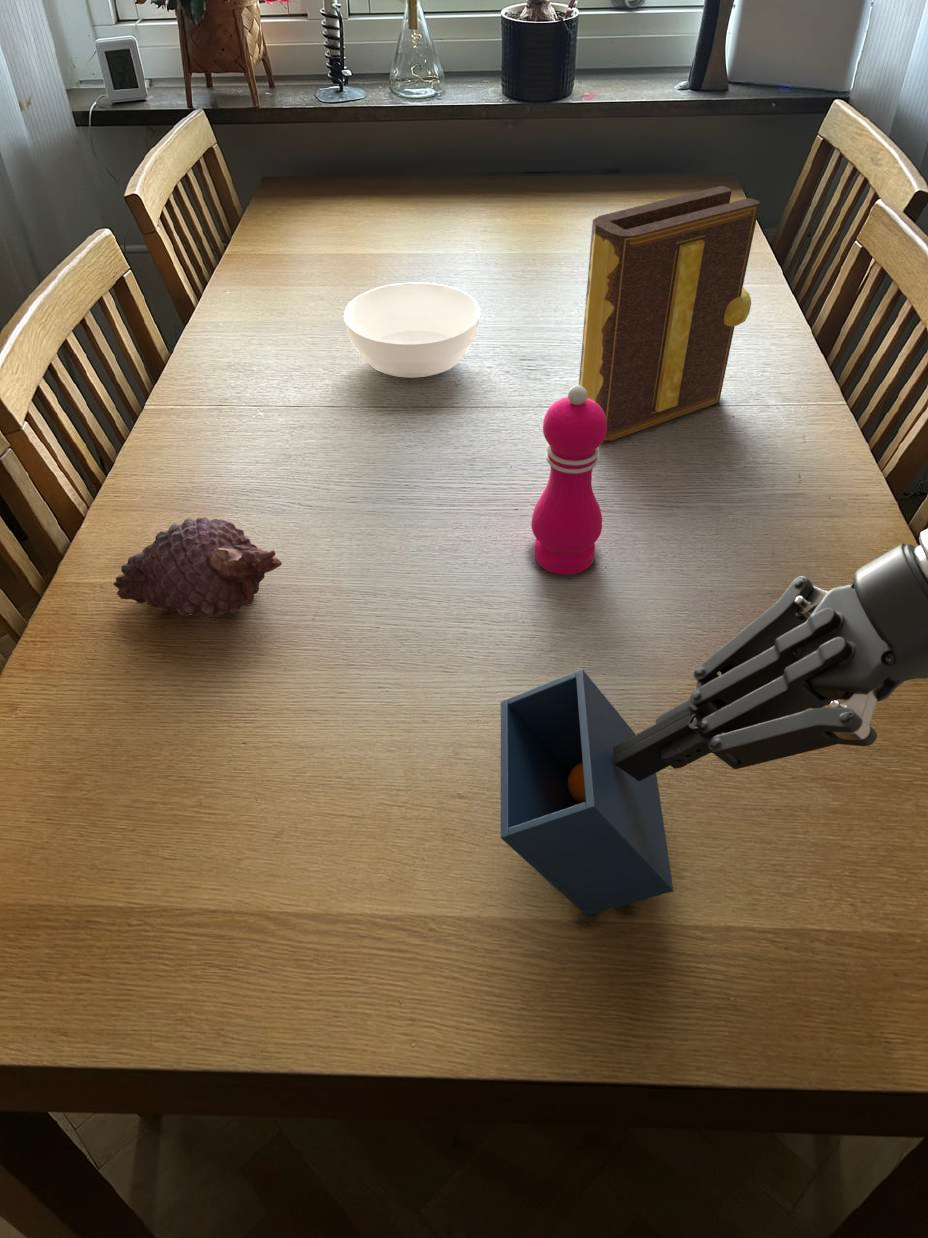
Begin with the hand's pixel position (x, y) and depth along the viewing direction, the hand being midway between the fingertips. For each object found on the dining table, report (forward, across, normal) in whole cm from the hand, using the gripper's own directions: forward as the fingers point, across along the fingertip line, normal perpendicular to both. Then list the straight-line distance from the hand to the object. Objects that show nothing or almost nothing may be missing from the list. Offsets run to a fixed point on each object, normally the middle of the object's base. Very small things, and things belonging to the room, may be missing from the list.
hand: (626, 764), depth 66 cm
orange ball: (+5, +3, -5) cm, 8 cm away
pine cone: (+35, +28, +20) cm, 48 cm away
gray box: (+6, 0, -6) cm, 8 cm away
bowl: (+22, +77, +7) cm, 80 cm away
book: (0, +65, -15) cm, 66 cm away
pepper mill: (+9, +35, -6) cm, 37 cm away
